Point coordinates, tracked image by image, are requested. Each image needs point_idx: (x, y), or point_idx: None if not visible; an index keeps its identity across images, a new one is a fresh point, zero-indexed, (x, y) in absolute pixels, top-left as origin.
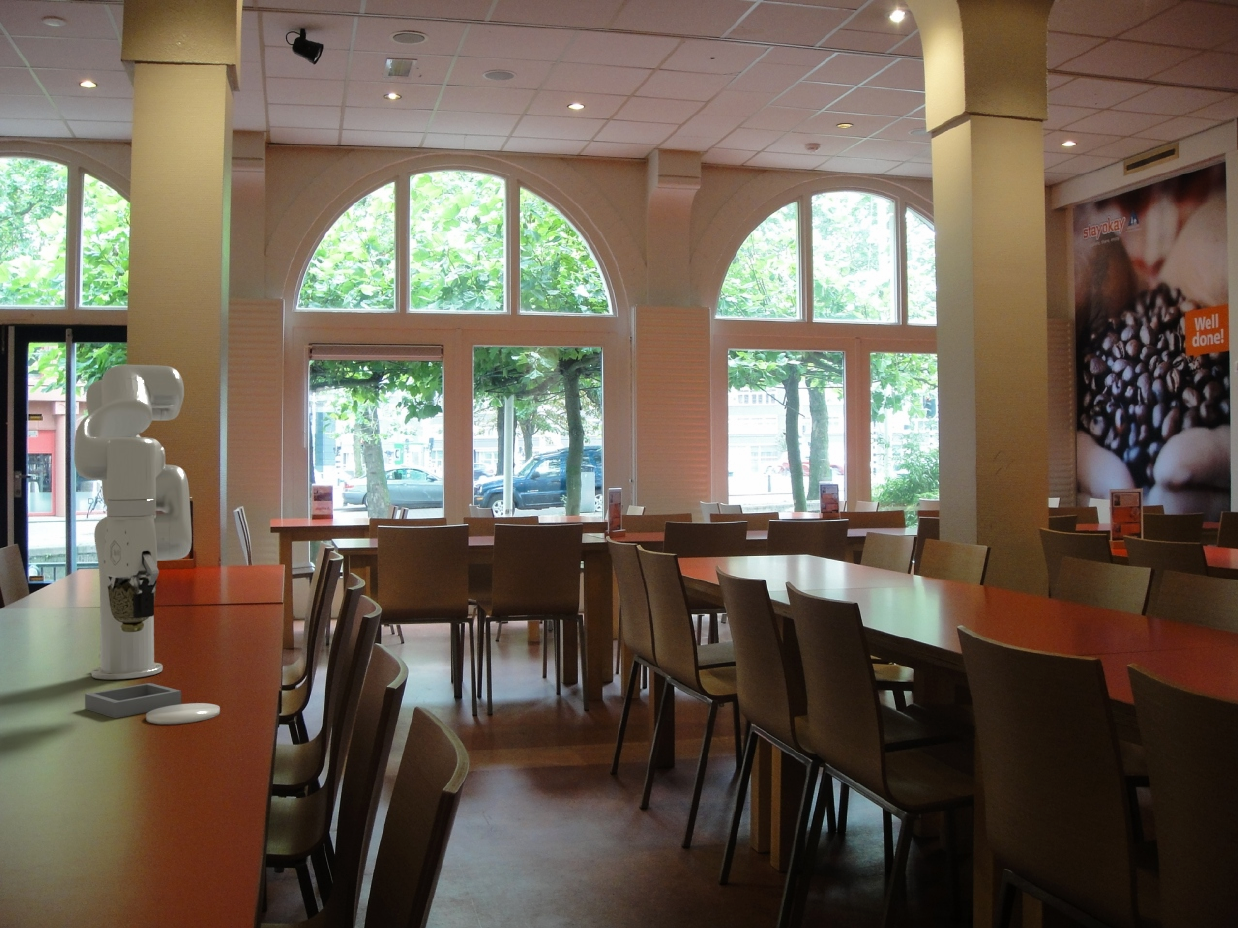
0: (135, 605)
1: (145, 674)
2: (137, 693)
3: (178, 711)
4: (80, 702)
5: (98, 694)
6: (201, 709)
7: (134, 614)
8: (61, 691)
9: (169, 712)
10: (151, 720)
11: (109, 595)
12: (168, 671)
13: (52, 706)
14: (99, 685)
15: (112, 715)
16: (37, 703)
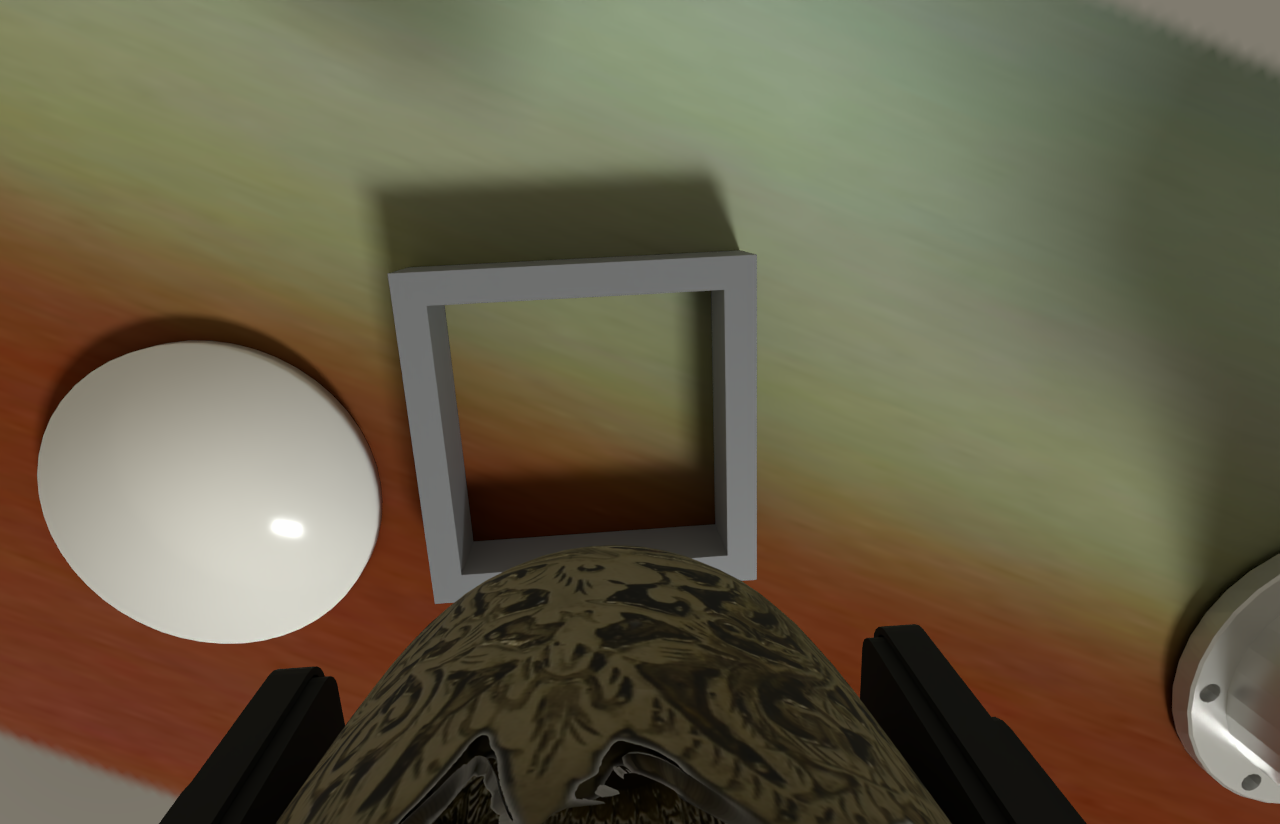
0: (191, 786)
1: (1176, 694)
2: (720, 496)
3: (214, 483)
4: (906, 292)
5: (723, 313)
6: (181, 566)
7: (276, 686)
8: (1234, 325)
9: (223, 448)
10: (165, 343)
11: (669, 678)
12: (1193, 789)
13: (935, 161)
14: (1195, 494)
15: (436, 266)
16: (1072, 136)
